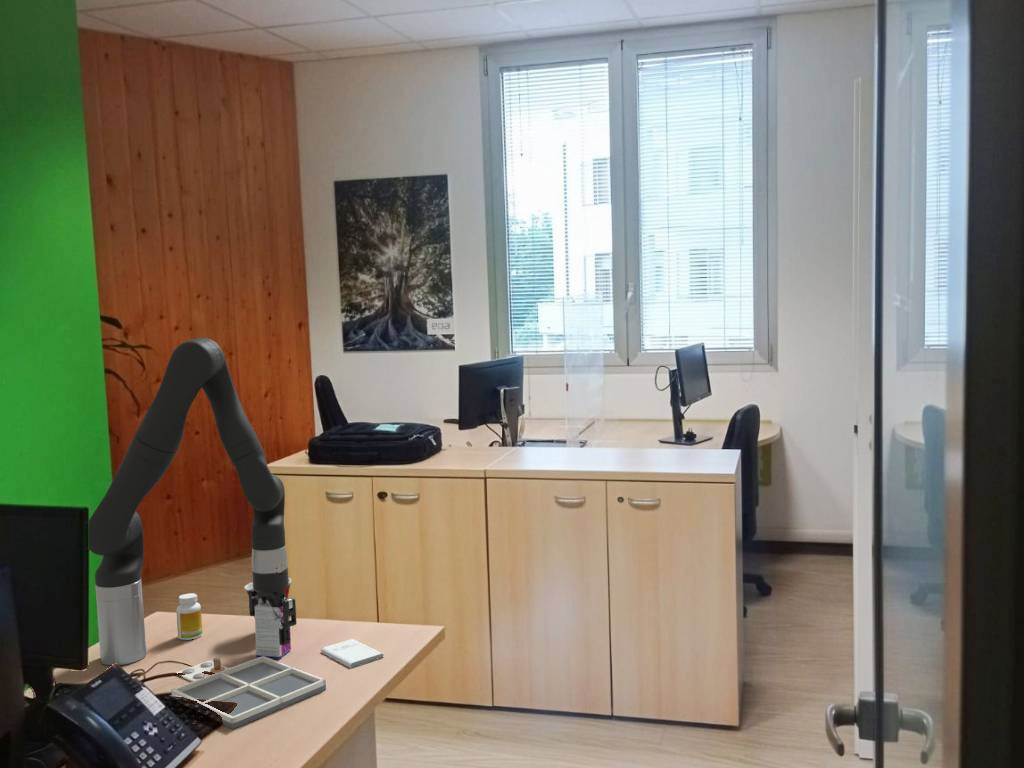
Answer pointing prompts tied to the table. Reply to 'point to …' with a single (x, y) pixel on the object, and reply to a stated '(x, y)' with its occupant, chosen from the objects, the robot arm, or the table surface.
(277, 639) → the supplement box
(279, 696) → the socket board
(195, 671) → the tile
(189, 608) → the supplement bottle
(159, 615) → the table surface
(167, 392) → the robot arm
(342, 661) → the external hard drive
